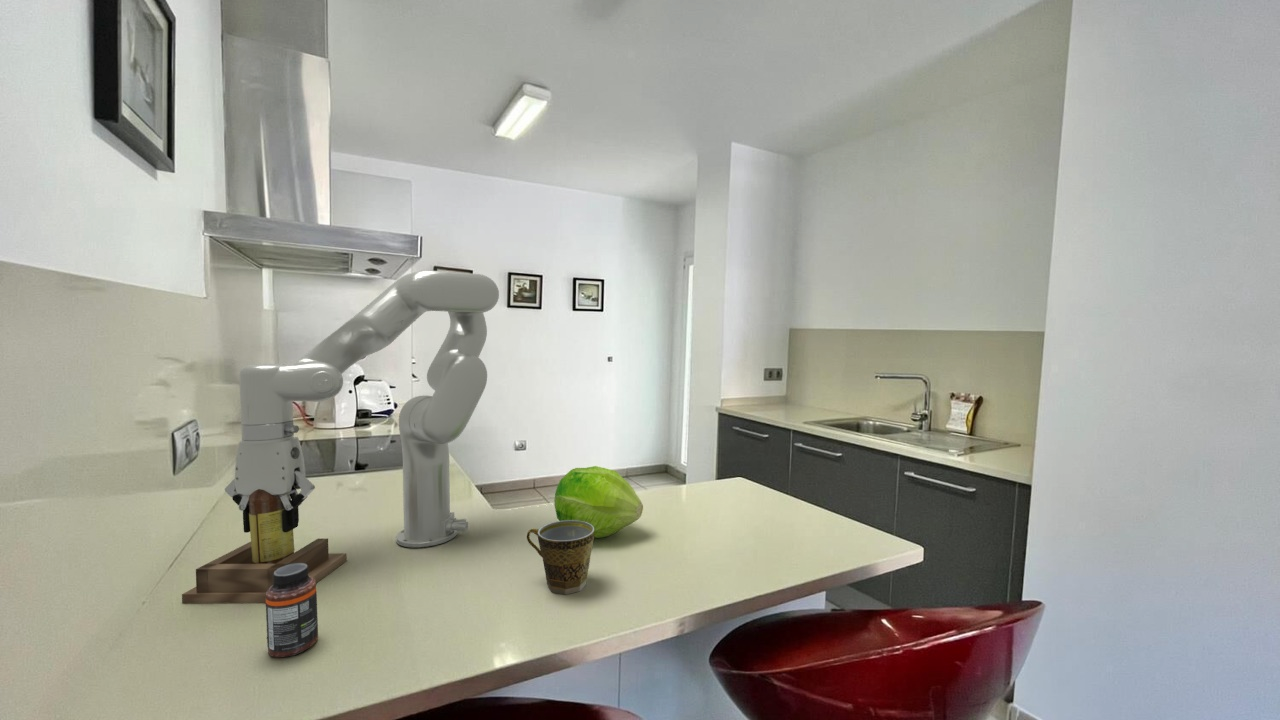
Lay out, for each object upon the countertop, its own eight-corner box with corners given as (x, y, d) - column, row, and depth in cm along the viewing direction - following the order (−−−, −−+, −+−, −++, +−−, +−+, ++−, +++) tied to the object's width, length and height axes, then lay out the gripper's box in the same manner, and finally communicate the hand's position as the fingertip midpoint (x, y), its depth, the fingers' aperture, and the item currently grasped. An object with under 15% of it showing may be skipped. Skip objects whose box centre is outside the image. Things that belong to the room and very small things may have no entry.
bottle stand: (346, 560, 99) (346, 533, 98) (289, 602, 83) (289, 570, 82) (256, 561, 99) (255, 533, 98) (182, 603, 83) (181, 570, 82)
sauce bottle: (302, 558, 93) (299, 453, 93) (275, 573, 87) (271, 461, 86) (270, 556, 94) (267, 453, 93) (241, 571, 88) (237, 461, 87)
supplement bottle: (284, 635, 73) (282, 560, 73) (326, 633, 74) (324, 558, 73) (256, 661, 67) (254, 579, 67) (303, 658, 68) (300, 577, 67)
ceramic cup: (603, 577, 91) (603, 523, 91) (579, 604, 82) (579, 544, 81) (541, 567, 95) (541, 515, 95) (512, 591, 86) (511, 534, 86)
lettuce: (625, 563, 102) (629, 494, 99) (538, 542, 108) (540, 477, 105) (648, 525, 118) (652, 465, 115) (571, 509, 123) (573, 452, 121)
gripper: (328, 428, 93) (331, 521, 94) (237, 428, 94) (240, 522, 94) (301, 435, 86) (304, 537, 87) (202, 436, 86) (206, 538, 87)
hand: (271, 528), depth 90 cm, fingers closed on sauce bottle, 6 cm apart
